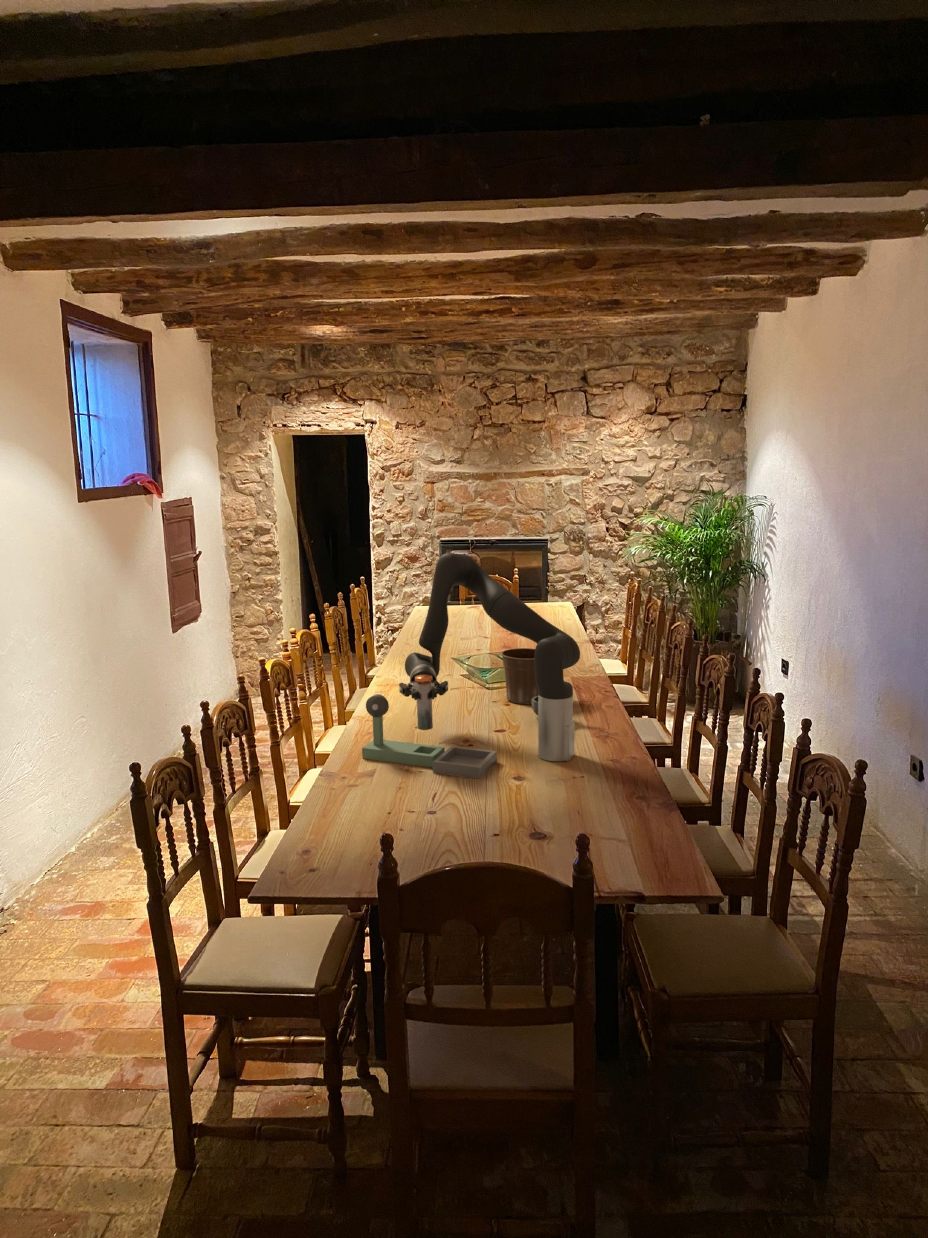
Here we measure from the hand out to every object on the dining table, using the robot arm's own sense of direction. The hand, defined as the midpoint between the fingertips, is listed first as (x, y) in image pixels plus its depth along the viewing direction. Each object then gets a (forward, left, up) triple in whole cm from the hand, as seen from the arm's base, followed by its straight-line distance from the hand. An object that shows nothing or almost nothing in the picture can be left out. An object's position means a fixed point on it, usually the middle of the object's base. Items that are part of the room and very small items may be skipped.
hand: (424, 696), depth 222 cm
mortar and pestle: (-21, -48, -19) cm, 55 cm away
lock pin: (+1, -3, -10) cm, 10 cm away
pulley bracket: (+8, -3, -19) cm, 21 cm away
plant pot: (-7, -68, -19) cm, 71 cm away
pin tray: (-11, -2, -19) cm, 22 cm away
